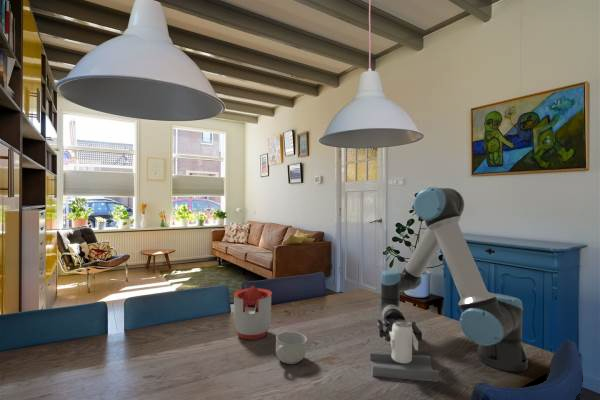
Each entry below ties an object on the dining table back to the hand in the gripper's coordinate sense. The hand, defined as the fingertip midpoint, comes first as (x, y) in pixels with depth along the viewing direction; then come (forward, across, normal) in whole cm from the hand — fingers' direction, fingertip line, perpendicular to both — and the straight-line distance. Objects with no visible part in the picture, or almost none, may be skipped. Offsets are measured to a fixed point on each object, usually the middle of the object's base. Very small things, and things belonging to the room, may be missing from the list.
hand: (404, 345), depth 103 cm
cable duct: (-5, 0, -11) cm, 12 cm away
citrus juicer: (-24, +56, -11) cm, 62 cm away
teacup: (-5, +38, -11) cm, 40 cm away
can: (-5, 0, -7) cm, 9 cm away
